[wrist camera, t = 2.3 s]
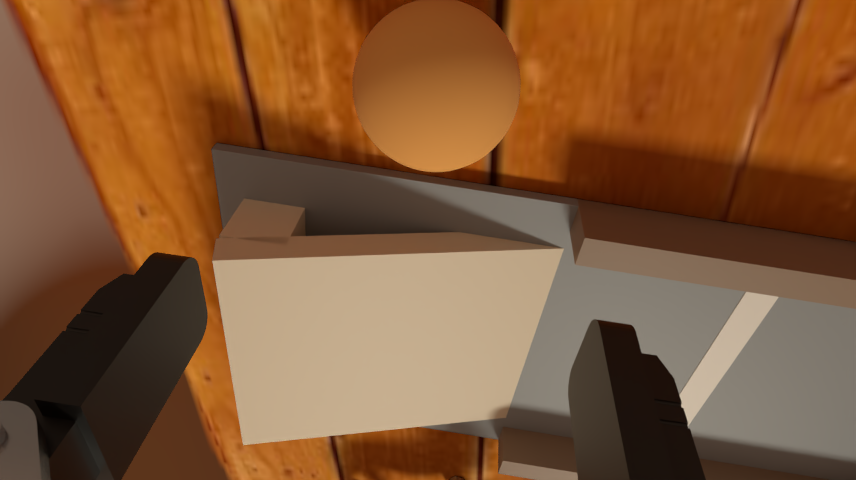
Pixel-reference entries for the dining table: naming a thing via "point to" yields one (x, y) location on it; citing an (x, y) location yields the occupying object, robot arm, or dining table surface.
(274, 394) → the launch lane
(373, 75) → the rubber ball
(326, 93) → the dining table surface
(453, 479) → the lion figurine
